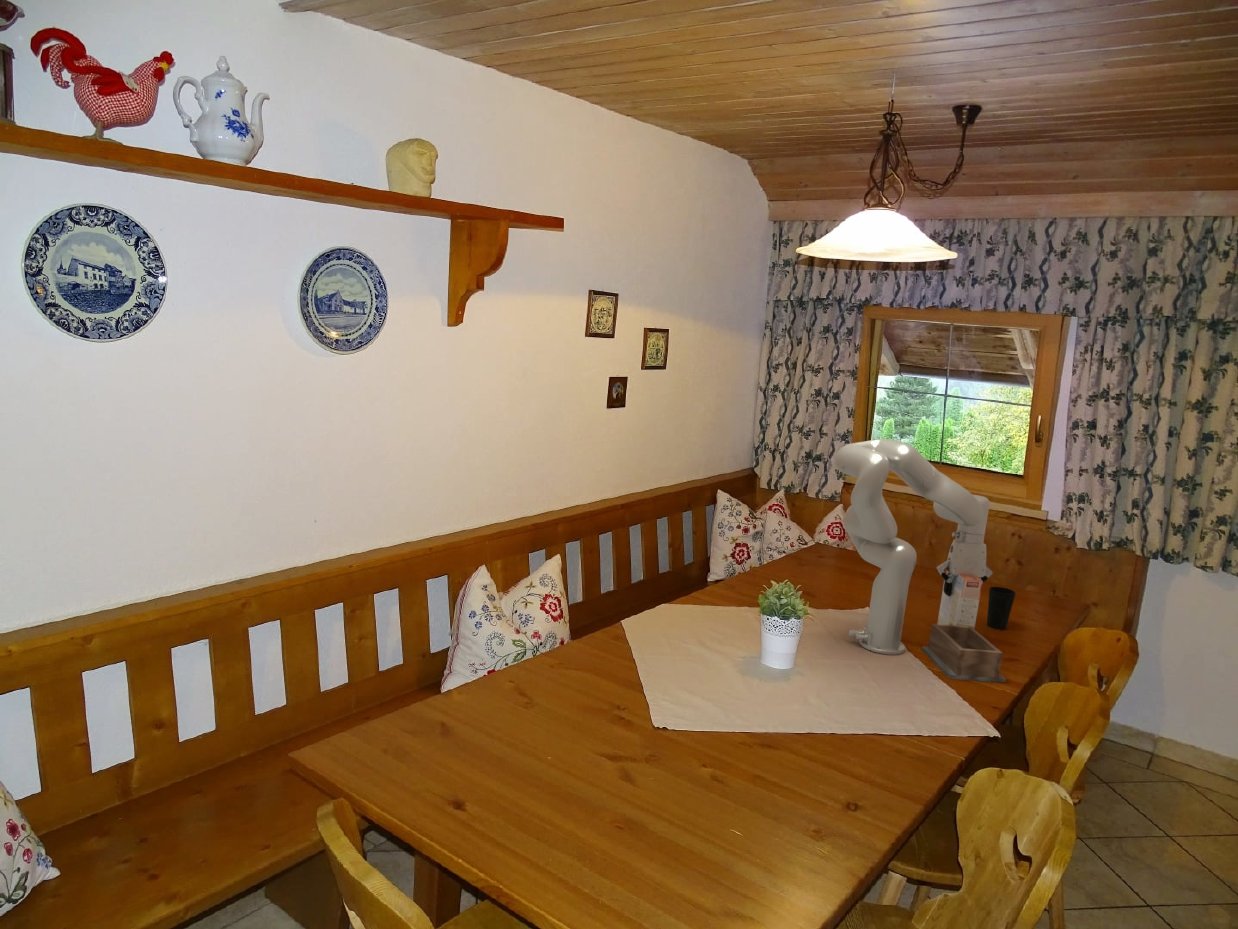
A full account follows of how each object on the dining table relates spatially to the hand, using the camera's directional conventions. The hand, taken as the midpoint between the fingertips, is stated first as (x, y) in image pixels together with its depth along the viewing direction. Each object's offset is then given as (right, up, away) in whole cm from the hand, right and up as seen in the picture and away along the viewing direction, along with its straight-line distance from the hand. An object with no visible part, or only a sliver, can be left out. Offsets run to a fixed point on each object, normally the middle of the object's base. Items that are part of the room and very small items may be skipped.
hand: (960, 595), depth 259 cm
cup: (+18, -13, +18) cm, 29 cm away
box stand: (-7, -17, -18) cm, 25 cm away
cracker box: (-1, -14, +2) cm, 14 cm away
